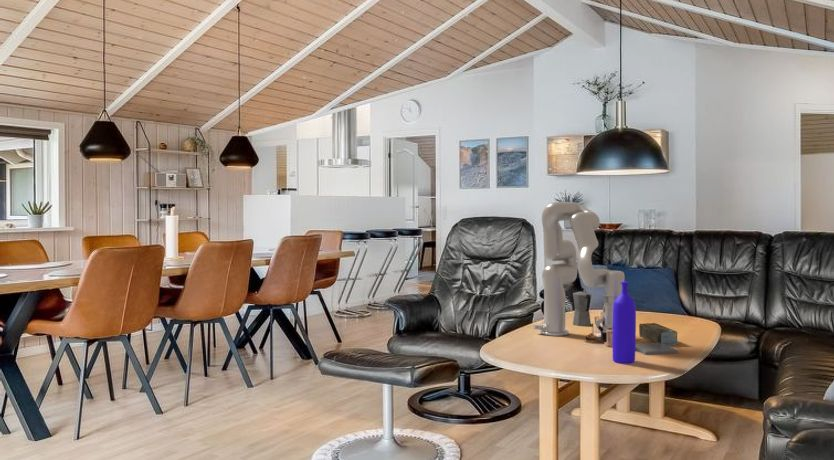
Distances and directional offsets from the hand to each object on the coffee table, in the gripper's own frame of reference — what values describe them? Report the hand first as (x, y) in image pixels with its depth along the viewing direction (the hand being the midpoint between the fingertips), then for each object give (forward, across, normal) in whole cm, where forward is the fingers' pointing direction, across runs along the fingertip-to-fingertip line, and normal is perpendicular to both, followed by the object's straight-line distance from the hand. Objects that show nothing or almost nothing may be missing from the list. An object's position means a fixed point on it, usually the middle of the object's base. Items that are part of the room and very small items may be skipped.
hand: (614, 341), depth 279 cm
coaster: (+2, +11, -11) cm, 15 cm away
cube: (+2, 0, 0) cm, 2 cm away
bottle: (+2, -10, -27) cm, 29 cm away
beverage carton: (+2, +23, +6) cm, 24 cm away
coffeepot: (+2, +7, +46) cm, 47 cm away
